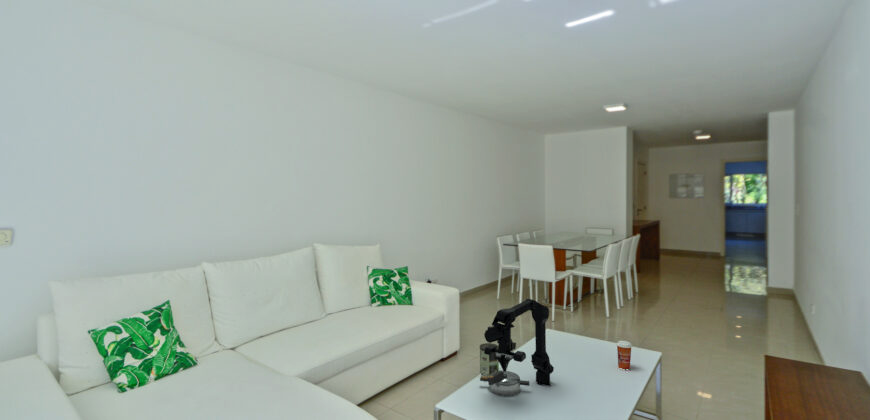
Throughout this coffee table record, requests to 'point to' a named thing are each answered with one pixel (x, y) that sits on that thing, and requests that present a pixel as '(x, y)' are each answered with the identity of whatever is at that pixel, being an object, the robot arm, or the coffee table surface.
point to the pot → (505, 388)
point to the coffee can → (488, 361)
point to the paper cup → (624, 354)
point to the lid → (503, 378)
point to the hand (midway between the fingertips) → (504, 371)
